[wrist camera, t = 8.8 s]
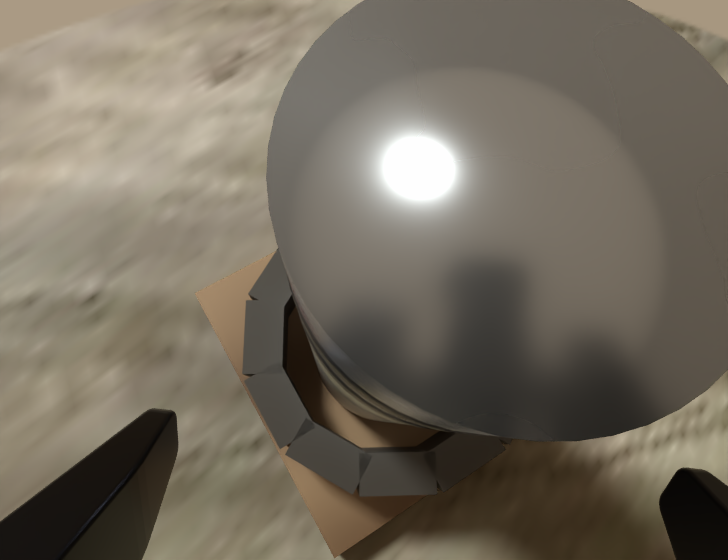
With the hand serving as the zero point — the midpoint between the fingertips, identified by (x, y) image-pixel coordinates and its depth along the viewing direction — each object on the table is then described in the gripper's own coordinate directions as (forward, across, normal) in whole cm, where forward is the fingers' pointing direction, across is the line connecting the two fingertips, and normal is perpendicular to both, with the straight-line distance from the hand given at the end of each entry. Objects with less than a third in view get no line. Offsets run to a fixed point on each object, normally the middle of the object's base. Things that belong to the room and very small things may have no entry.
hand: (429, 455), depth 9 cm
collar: (+9, 0, +4) cm, 10 cm away
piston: (+8, 0, +4) cm, 9 cm away
